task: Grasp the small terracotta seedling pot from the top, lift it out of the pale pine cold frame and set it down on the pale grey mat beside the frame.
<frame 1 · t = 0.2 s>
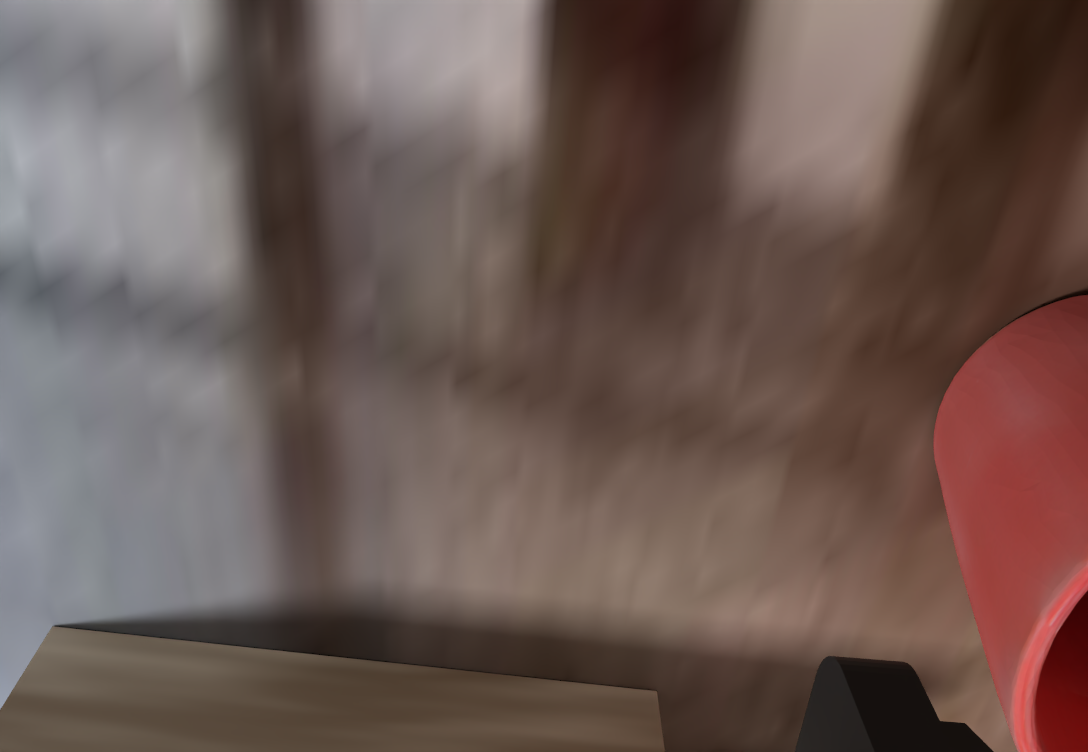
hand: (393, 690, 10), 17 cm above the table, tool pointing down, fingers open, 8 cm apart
flower pot: (1070, 415, 29), on the table
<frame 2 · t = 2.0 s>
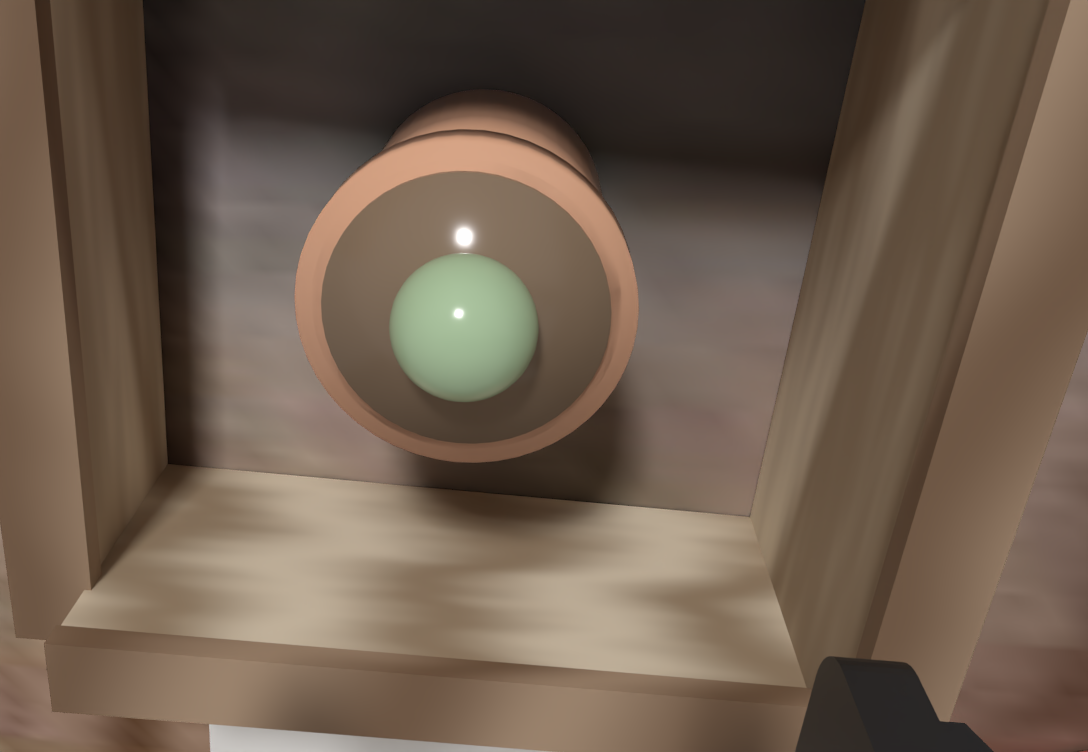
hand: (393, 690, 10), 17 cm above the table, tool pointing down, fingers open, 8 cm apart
cold frame: (486, 207, 25), on the table
seedling pot: (486, 207, 25), resting in cold frame
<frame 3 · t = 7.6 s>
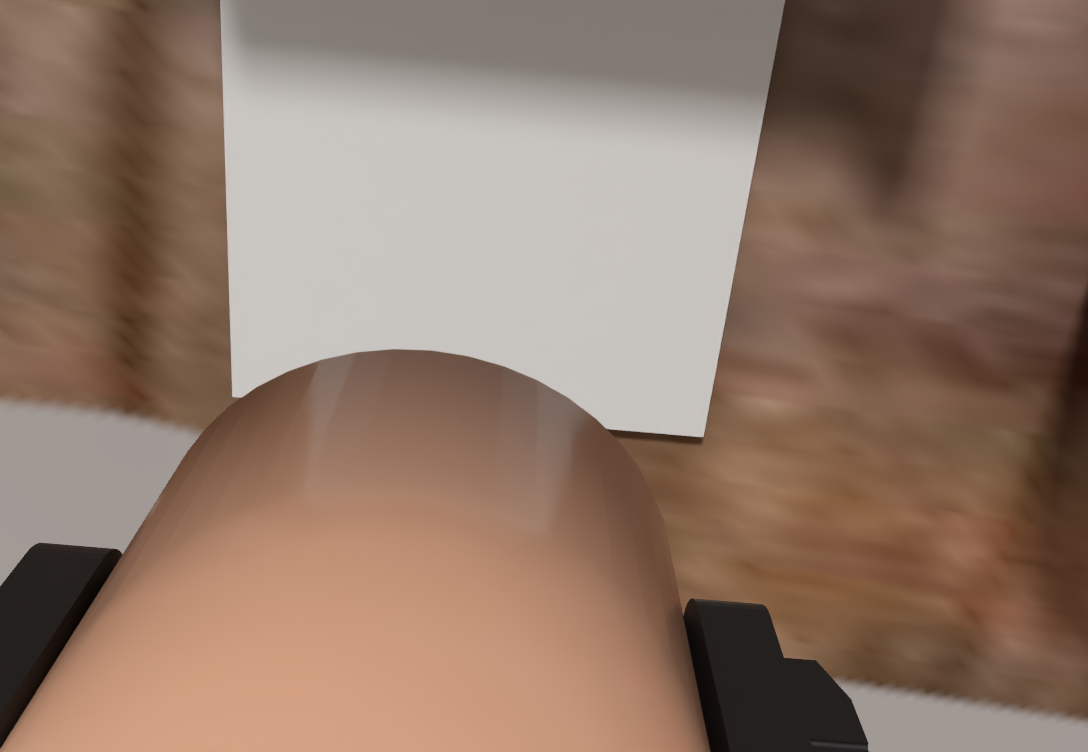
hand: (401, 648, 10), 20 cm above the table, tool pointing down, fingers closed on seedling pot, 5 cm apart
seedling pot: (415, 583, 11), point 18 cm above the table, touching gripper
grey mat: (489, 181, 28), on the table
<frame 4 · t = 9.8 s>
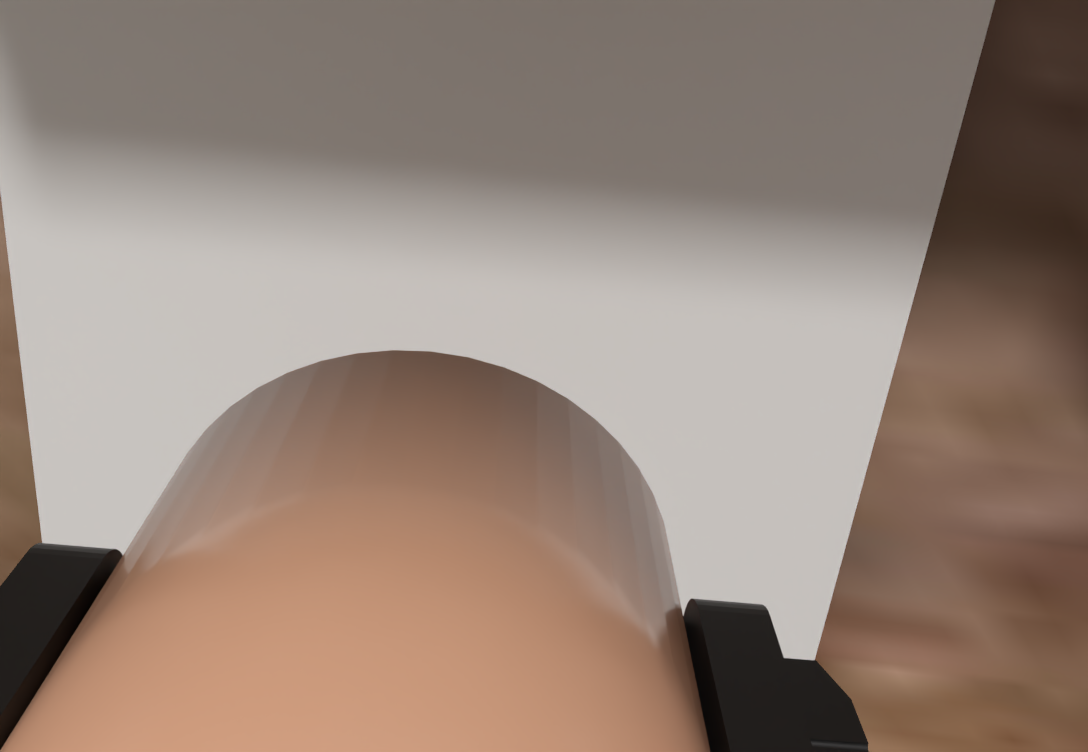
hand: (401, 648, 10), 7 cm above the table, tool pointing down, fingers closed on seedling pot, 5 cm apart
seedling pot: (415, 584, 11), point 6 cm above the table, touching gripper
grey mat: (460, 351, 17), on the table
when the fingers open (2 cm above the table, at t = 11.4 s): seedling pot stays where it is, resting on grey mat.
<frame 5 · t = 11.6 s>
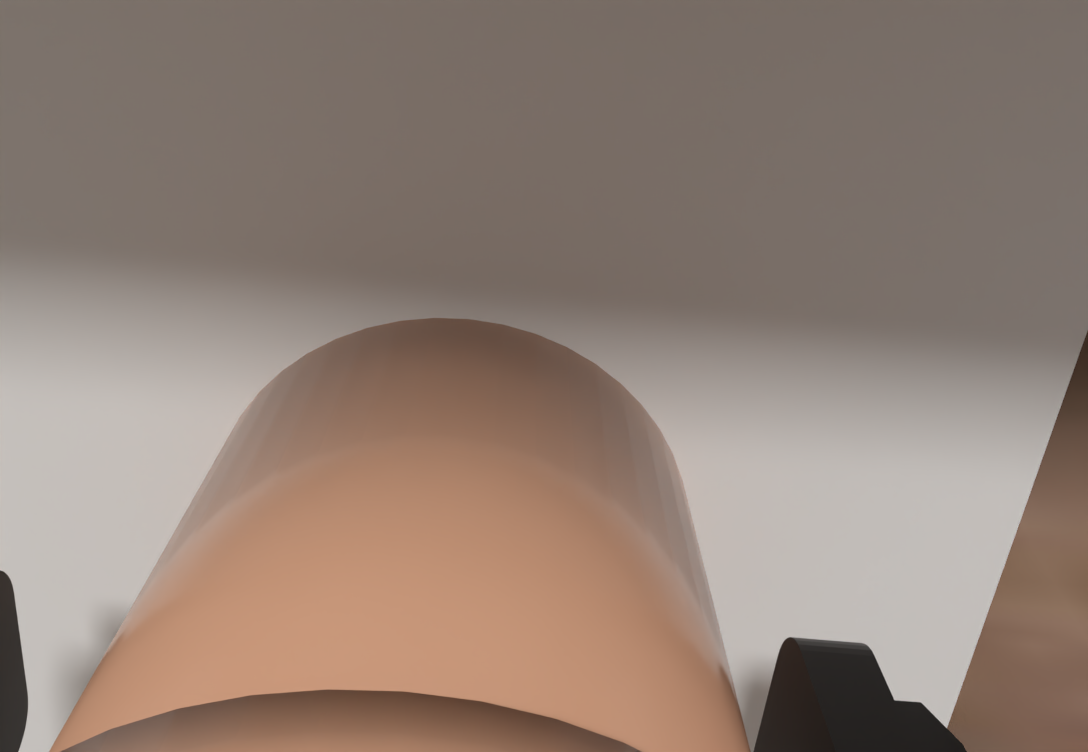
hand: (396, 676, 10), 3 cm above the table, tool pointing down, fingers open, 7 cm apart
seedling pot: (450, 538, 12), resting on grey mat
grey mat: (422, 515, 13), on the table
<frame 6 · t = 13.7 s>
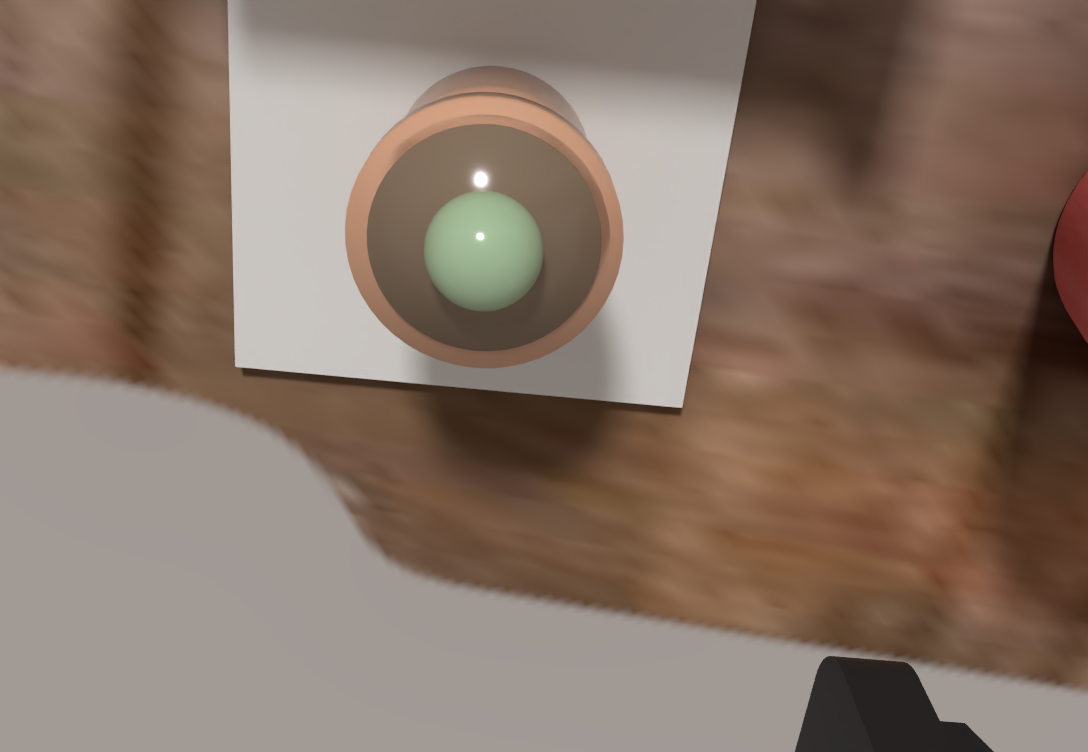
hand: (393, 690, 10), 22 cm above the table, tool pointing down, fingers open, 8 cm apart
seedling pot: (492, 167, 29), point 1 cm above the table, touching grey mat
grey mat: (480, 162, 30), on the table
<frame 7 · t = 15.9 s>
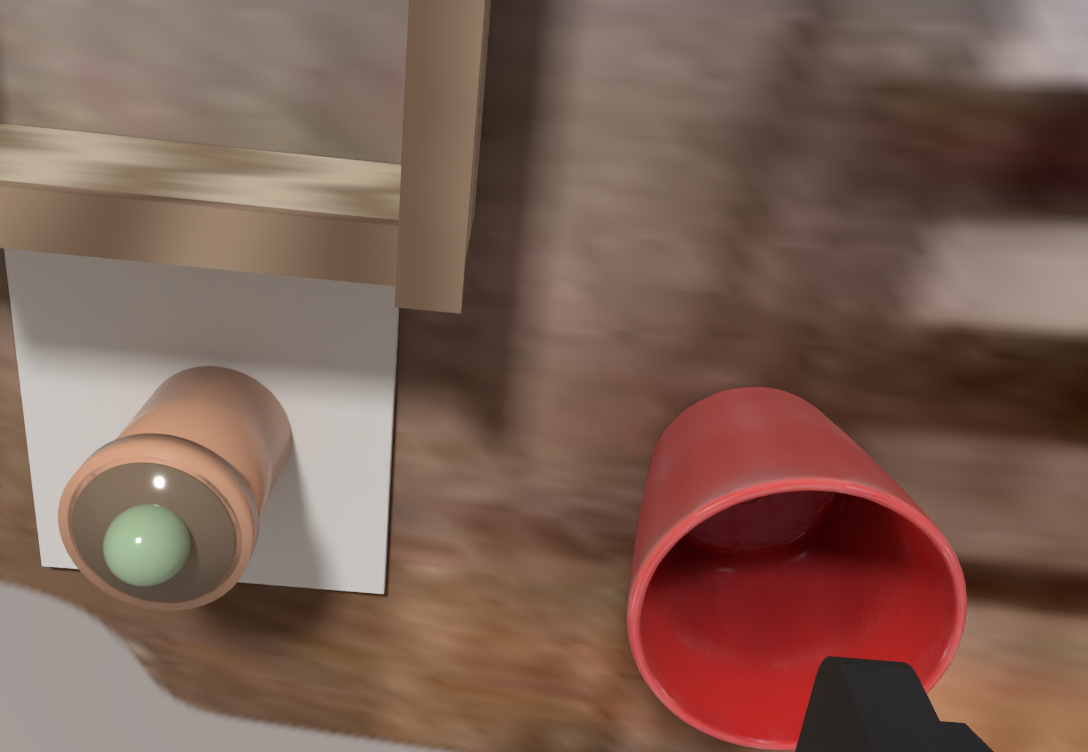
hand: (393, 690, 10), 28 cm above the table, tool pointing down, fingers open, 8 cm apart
seedling pot: (218, 432, 40), point 1 cm above the table, touching grey mat
flower pot: (742, 469, 41), on the table
grey mat: (212, 425, 40), on the table
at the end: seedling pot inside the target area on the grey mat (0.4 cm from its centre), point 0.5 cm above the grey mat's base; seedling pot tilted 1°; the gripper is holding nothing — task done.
